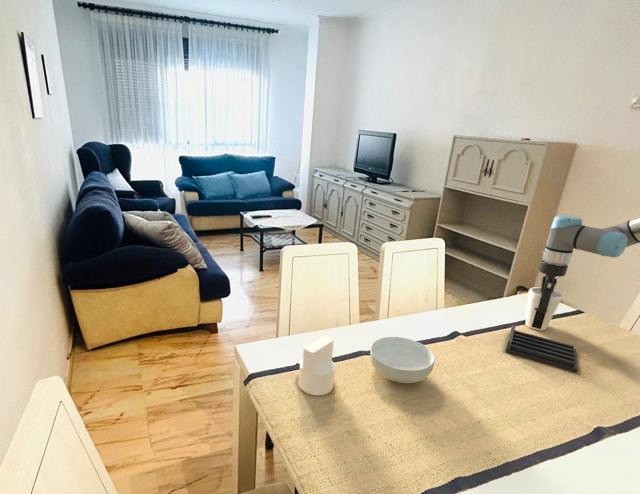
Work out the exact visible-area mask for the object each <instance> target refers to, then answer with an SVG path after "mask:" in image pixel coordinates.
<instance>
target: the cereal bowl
mask: <svg viewBox="0 0 640 494" xmlns="http://www.w3.org/2000/svg"><path fill="white" fill-rule="evenodd" d="M369 350H370V351H369V357H370V363H371V365H372V367H373V369H374V370H375V371H376V373H378V374H379V375H380V376H382V377H383V378H384V379H385V378H386V379H387V380H389V381H392V382H396V383H400V384H414V383H419V382H422V381H424V380H425V379H427V378H428V377H429V376H430V375H431V373H432V371H433V369H434V366H435V361H436V359H435V358H436V357H435V354H434V353H433V351H432V350H431V349H430V348H429V347H428V346H426V345H424V344H423V343H421V342H419V341H416V340H414V339H411V338H406V337H402V336H401V337H400V336H386V337H381V338H378V339H376V340H374V341H373V342H372V343H371V346H370V349H369Z"/></svg>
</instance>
